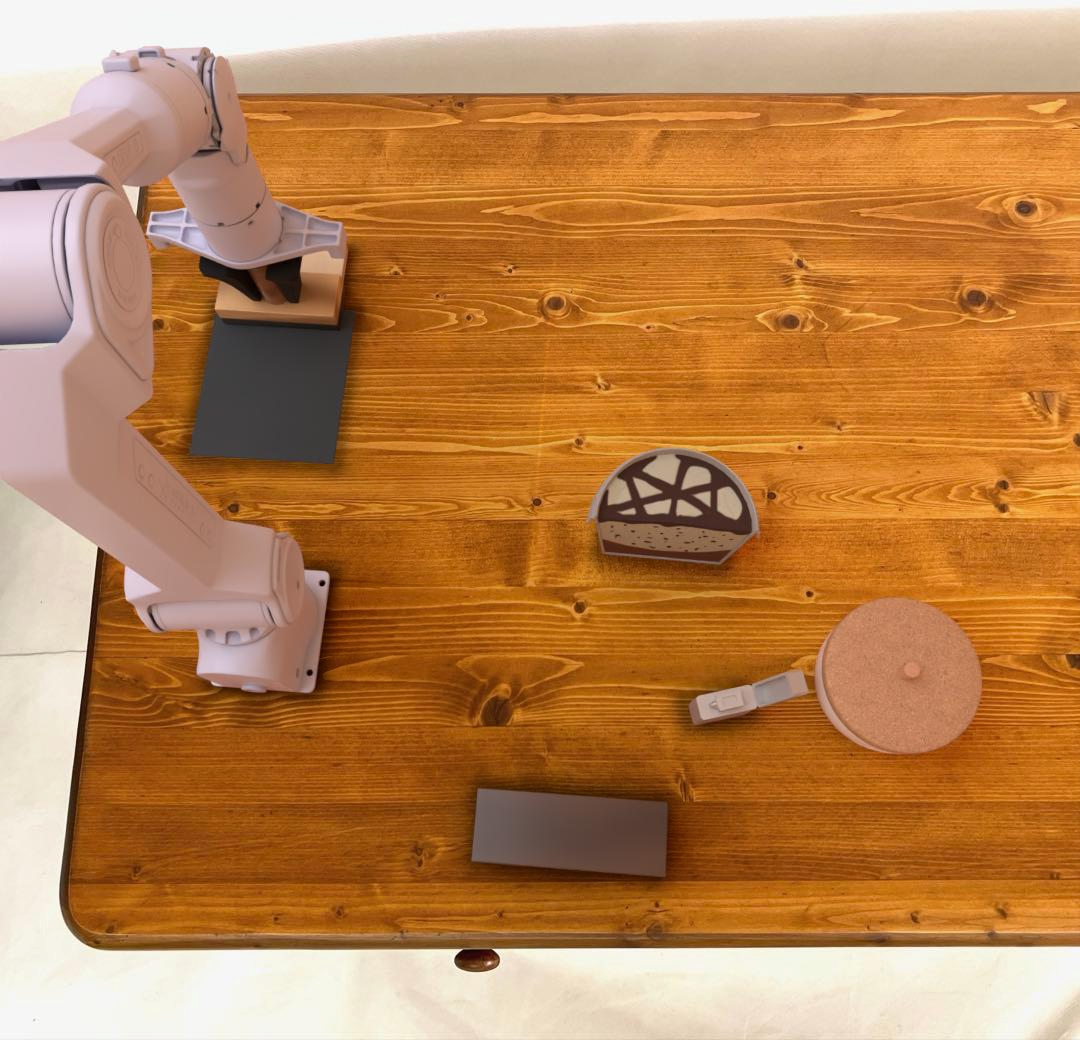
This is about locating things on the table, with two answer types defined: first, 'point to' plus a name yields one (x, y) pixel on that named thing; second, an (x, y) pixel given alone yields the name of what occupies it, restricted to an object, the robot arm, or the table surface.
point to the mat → (273, 392)
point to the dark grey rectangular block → (570, 832)
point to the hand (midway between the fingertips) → (277, 291)
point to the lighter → (747, 697)
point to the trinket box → (898, 677)
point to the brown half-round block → (674, 508)
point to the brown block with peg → (285, 303)
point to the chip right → (324, 263)
